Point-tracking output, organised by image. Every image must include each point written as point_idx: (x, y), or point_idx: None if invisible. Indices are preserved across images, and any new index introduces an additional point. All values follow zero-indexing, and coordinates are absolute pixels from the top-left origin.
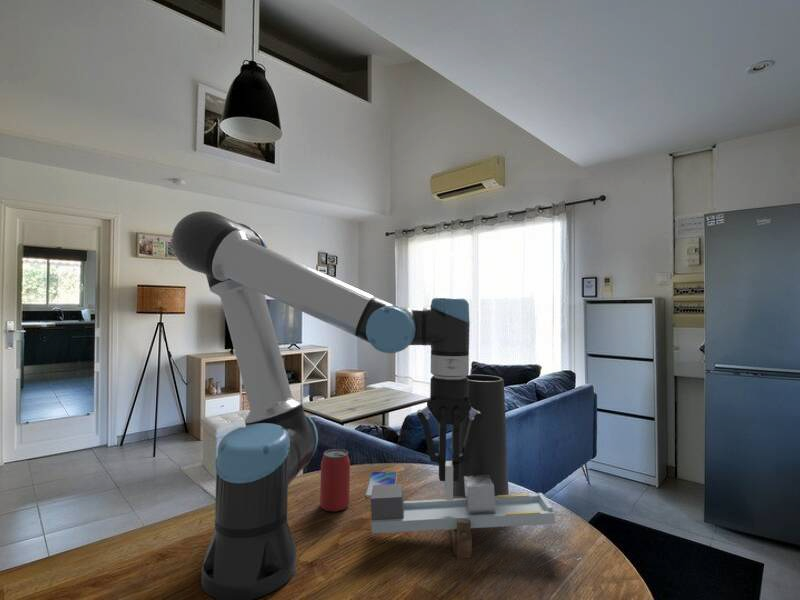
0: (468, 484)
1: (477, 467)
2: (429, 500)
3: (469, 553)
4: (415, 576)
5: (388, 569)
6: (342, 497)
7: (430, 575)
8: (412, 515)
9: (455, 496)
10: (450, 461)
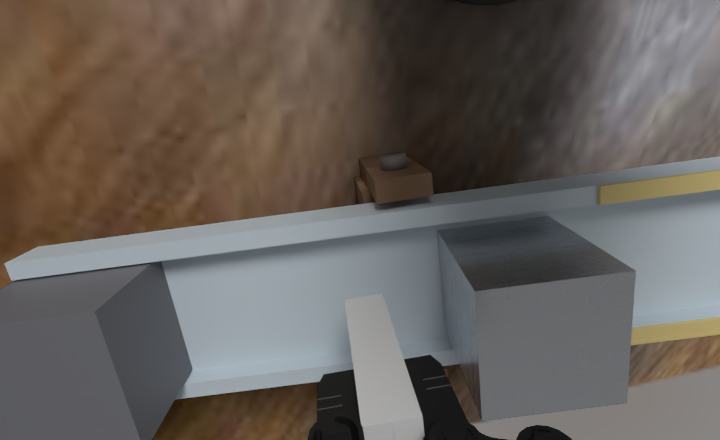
0: (490, 394)
1: None
2: (267, 232)
3: None
4: (275, 418)
5: (198, 411)
6: None
7: (313, 406)
8: (212, 310)
9: (393, 179)
10: (411, 426)
